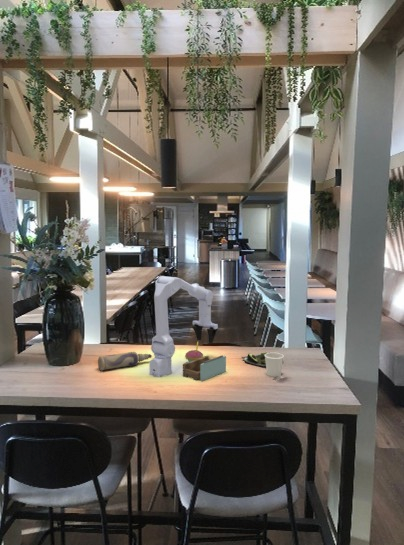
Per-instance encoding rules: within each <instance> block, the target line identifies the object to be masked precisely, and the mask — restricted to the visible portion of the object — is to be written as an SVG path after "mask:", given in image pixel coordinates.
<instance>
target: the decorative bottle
mask: <svg viewBox="0 0 404 545" xmlns="http://www.w3.org/2000/svg"><path fill="white" fill-rule="evenodd" d="M151 358H152V354H151V353H137V352H136V351H130V352H122V353H116V354H107V355H100V356H98V358H97V366H98V369H99V371H107V370H113V369H119V368H126V367H133V366H134V367H135V366H137V365H138V364H139V363H141V362H143V361H145V360H149V359H151Z"/></svg>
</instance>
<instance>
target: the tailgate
mask: <svg viewBox="0 0 404 545" xmlns="http://www.w3.org/2000/svg"><path fill="white" fill-rule="evenodd" d="M225 372H227V355H223V354H222V355H220V356H216V357H214V358H211V359H210V358H209V360H207V361H205V362H204V363H203V364H200V376H201V382H203V381H206V380H209V379H210V378H213V377H216V376H218V375H221V374H223V373H225Z"/></svg>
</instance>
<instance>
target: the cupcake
mask: <svg viewBox="0 0 404 545" xmlns="http://www.w3.org/2000/svg"><path fill="white" fill-rule="evenodd" d="M198 347H199V341H196V348H195V349H192V350H189V351H187V352H186V353H185V356H184V358H185V359H186V360H187V362H190V361H193V360H196V359H199V358H202V357H204V354H203V352H202V351H200V350H198Z"/></svg>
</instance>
